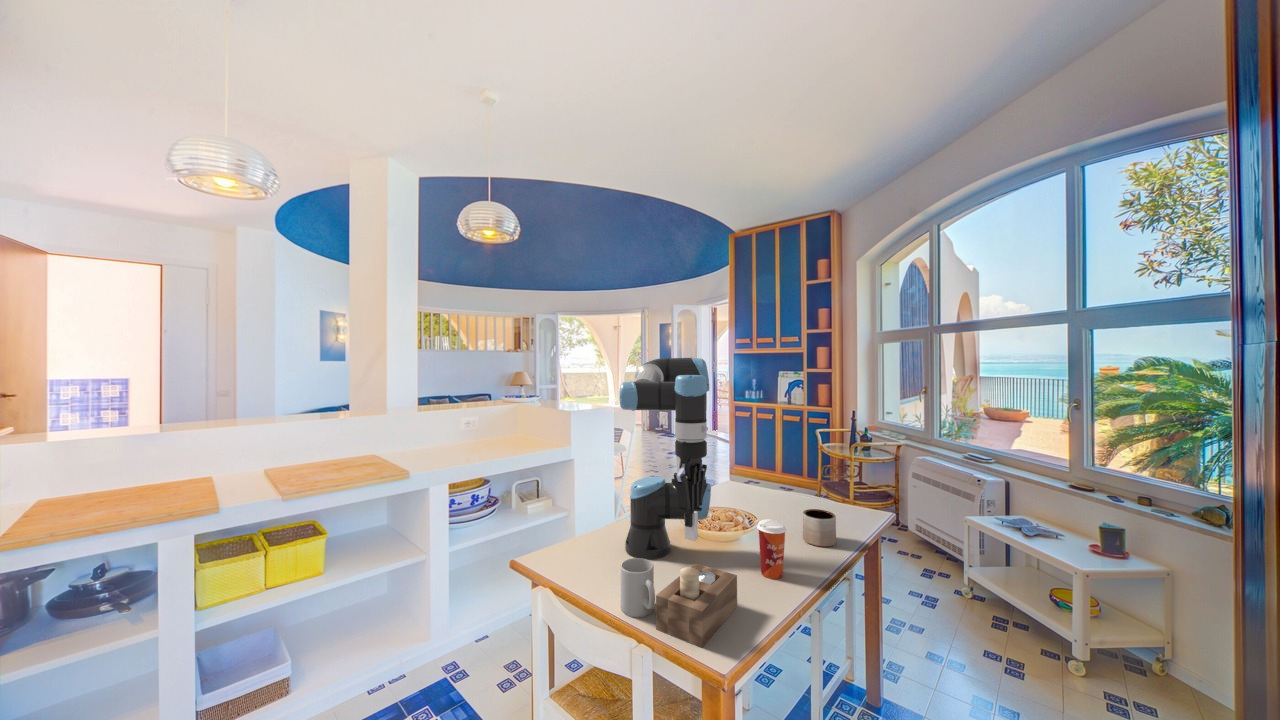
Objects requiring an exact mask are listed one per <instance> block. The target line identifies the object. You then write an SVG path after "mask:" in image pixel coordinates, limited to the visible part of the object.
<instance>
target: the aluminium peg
mask: <svg viewBox="0 0 1280 720" xmlns="http://www.w3.org/2000/svg"><path fill="white" fill-rule="evenodd" d="M699 581H700V582H704V583H707V584H710V585H712V584H713V583H714V582H715V574H714V573H712V572H709V571H702V572H699Z"/></svg>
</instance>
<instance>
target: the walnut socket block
mask: <svg viewBox="0 0 1280 720" xmlns="http://www.w3.org/2000/svg"><path fill="white" fill-rule="evenodd" d="M690 567H692V568H696V569H697V570H698V571H699V572H702V571H709V572H712V573H714V574H715V582H714V583H713V584H712V585H710V584H707V583H704V582H700V581H699V598H698V599H697V600H696V601H692V600H689V599H686V598H683V597H680V575H678V577H676V578H675V579H674V580H673V581H672V582H670V583H669V584H668V585H667V586H666V587H664V588H663V589H662V590H660V591H659V592H658V593H657V594H655V630H656V631H659V632H661V633H664V634H666V635H669V636H671V637H674V638H675V639H676V638H677V639H679V640H682V641H684V642H686V643H689V644H691V645H694V646H696V647H698V648H701V649H703V648H704V647H705V646H706V644H707V643H708V642H709V641H710V640H711V638H712V637H713V636H715V633H716V632H717V631H718V630H719V629H720V627H721V626H722V625H723V623H725V621H726V620H727V619H728V618H729V617H730V615H731V614H732V613H733V612H734V611H735V609H736V608H737V607H738V575H737V574H735V573H730V572H727V571H724V570H721V569H717V568H714V567H710V566H707V565H703V564H701V563H700V564H699V563H696V562H695V563H693V564H692V565H691V566H690Z"/></svg>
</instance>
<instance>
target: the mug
mask: <svg viewBox="0 0 1280 720" xmlns="http://www.w3.org/2000/svg"><path fill="white" fill-rule="evenodd" d="M654 574H655V573H654V563H653V562H652V561H651V560H650V559H645V558H638V557H632V558H629V559H626V560H624V561H622V562H621V564H620V610H621V612H622V613H623V614H624V615H625V616H628V617H631V618H643V617H644V618H645V617H646V616H648V615H650V614H652V613H653V611H654V608H655V605H656V593H655V592H656V591H655V586H654V579H655V578H654Z"/></svg>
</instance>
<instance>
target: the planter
mask: <svg viewBox="0 0 1280 720" xmlns="http://www.w3.org/2000/svg"><path fill="white" fill-rule="evenodd" d="M802 539H803V541H805V543H807V544H809V545H811V546H814V547H815V546H816V547H817V548H819V547H820V548H829V547H833V546H835V545H836V544H837V516H836V514H835V513H833V512H832V511H828V510H826V509H825V510H824V509H819V508H817V509H816V508H808V509H805V510H803V512H802Z"/></svg>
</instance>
